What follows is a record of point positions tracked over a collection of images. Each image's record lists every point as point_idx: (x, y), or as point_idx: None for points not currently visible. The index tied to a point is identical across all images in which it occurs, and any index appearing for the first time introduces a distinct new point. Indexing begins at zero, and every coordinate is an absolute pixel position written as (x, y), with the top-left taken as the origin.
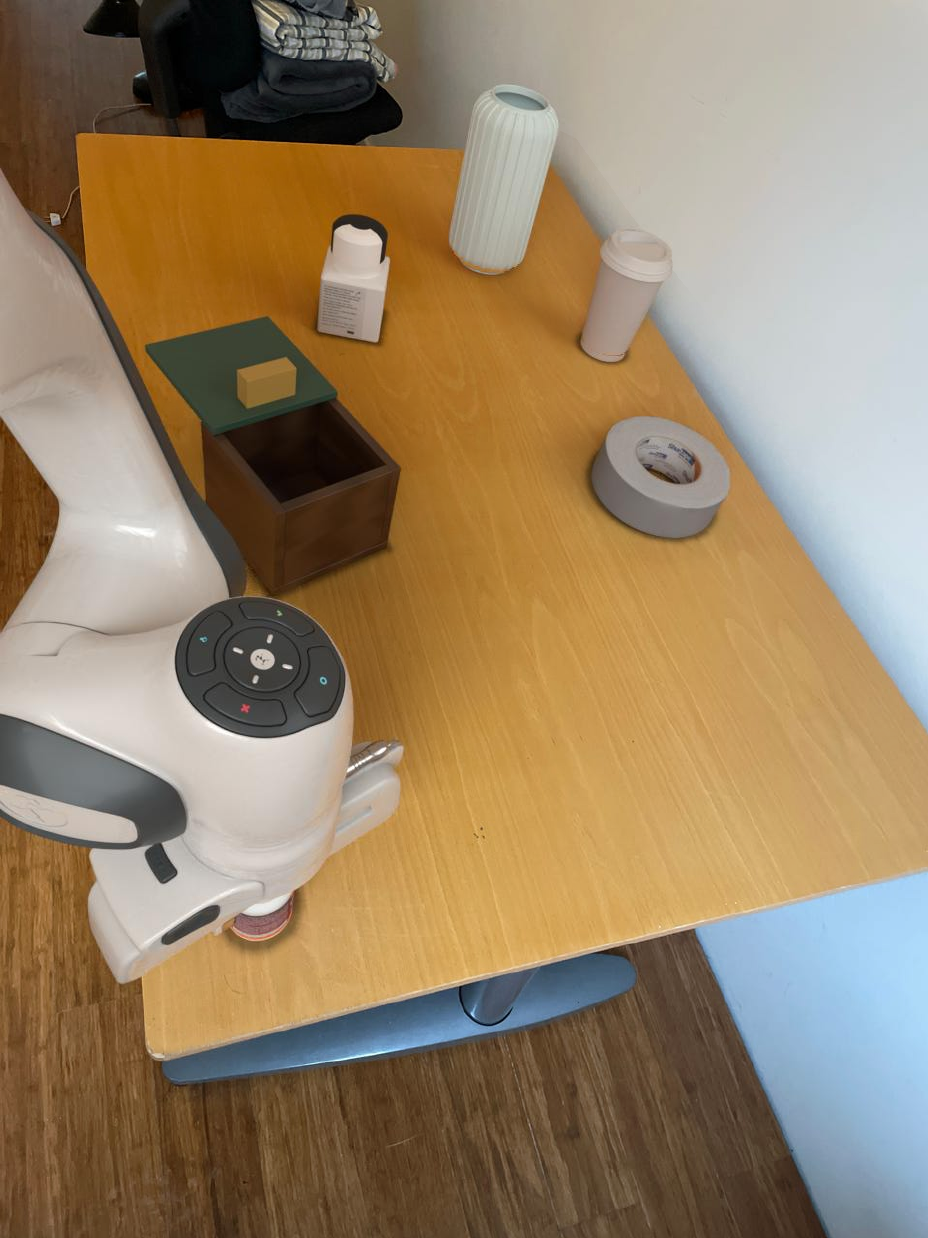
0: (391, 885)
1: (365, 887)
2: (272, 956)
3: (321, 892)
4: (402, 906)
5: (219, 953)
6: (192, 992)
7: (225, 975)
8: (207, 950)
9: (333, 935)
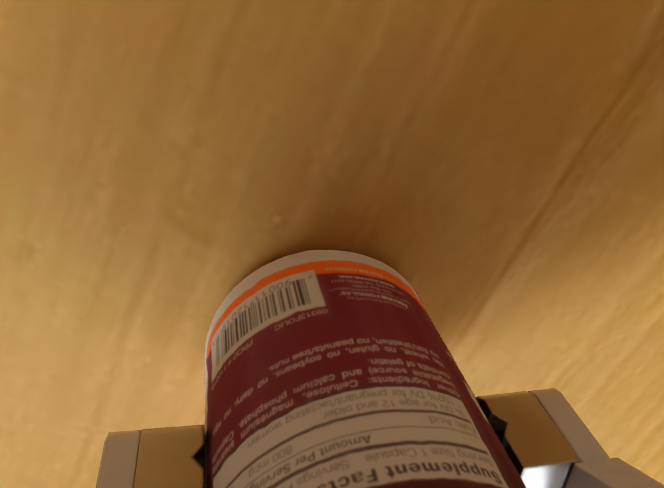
0: (624, 425)
1: (578, 405)
2: None
3: (488, 371)
4: None
5: (141, 389)
6: (19, 443)
7: None
8: (109, 369)
9: None
